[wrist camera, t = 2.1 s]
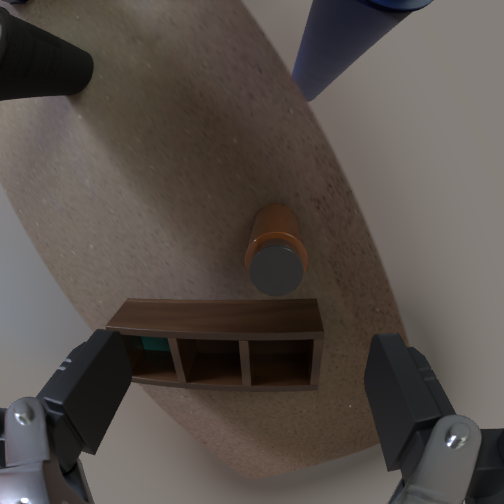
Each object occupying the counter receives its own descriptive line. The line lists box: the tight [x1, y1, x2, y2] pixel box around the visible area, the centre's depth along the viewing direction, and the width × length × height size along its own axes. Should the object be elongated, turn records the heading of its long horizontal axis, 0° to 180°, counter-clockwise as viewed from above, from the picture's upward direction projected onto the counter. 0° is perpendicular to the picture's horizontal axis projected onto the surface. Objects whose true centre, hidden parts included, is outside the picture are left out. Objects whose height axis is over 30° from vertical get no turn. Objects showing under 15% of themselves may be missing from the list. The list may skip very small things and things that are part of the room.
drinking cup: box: [0, 7, 93, 101], centre depth 14 cm, size 8×8×20 cm
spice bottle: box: [245, 203, 308, 296], centre depth 23 cm, size 4×4×10 cm
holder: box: [106, 298, 324, 392], centre depth 29 cm, size 7×20×6 cm, turn 93°
